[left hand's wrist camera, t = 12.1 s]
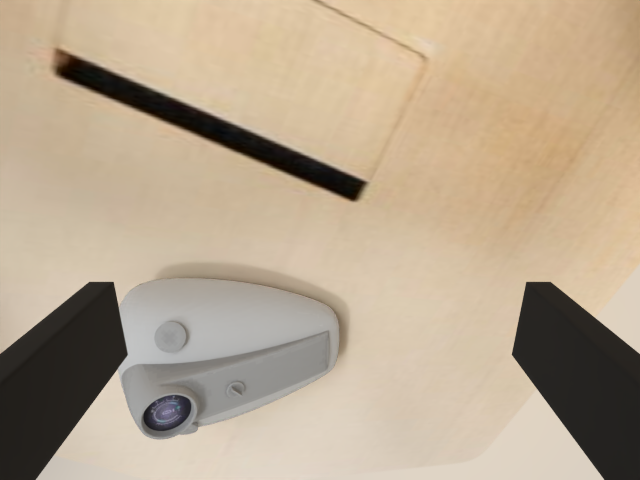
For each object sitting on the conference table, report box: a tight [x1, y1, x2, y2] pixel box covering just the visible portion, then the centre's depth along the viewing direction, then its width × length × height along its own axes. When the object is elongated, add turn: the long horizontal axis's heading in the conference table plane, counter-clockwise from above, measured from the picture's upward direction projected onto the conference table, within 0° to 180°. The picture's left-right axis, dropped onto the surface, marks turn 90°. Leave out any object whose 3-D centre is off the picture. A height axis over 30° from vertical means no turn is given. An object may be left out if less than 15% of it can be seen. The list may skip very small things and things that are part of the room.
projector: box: [118, 278, 339, 439], centre depth 40 cm, size 22×23×15 cm
